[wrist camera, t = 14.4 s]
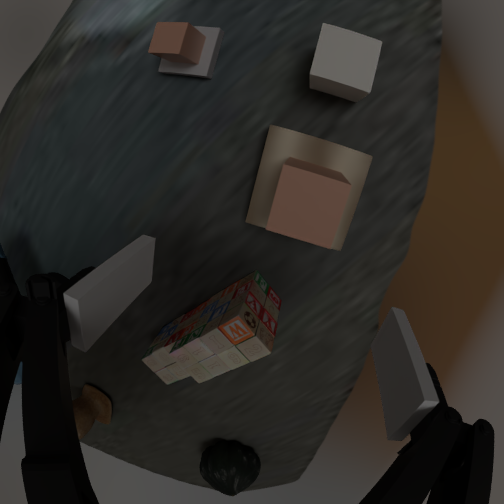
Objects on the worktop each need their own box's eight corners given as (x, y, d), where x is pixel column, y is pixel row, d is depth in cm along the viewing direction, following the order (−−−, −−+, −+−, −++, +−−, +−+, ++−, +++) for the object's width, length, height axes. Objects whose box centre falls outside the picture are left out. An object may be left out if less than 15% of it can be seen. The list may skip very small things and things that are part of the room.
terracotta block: (276, 205, 35) (265, 229, 26) (290, 156, 32) (283, 164, 24) (325, 220, 34) (330, 249, 26) (341, 172, 32) (351, 185, 24)
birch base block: (251, 213, 40) (245, 222, 36) (274, 125, 35) (270, 124, 31) (337, 239, 39) (340, 251, 35) (366, 154, 34) (372, 156, 30)
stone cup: (79, 373, 64) (49, 409, 51) (116, 397, 64) (89, 438, 51) (80, 398, 71) (55, 431, 57) (112, 419, 71) (90, 455, 57)
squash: (184, 459, 61) (209, 507, 51) (201, 438, 56) (232, 494, 45) (229, 448, 70) (254, 490, 60) (251, 425, 64) (282, 473, 54)
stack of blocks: (186, 350, 52) (159, 398, 41) (163, 326, 51) (130, 371, 39) (282, 300, 44) (272, 354, 33) (257, 268, 43) (238, 316, 32)
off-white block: (309, 88, 32) (309, 73, 24) (320, 47, 30) (323, 22, 22) (356, 102, 32) (370, 93, 24) (366, 61, 29) (382, 41, 21)
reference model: (164, 73, 34) (134, 64, 27) (177, 29, 31) (149, 12, 24) (211, 78, 34) (188, 67, 26) (224, 32, 31) (204, 12, 24)
